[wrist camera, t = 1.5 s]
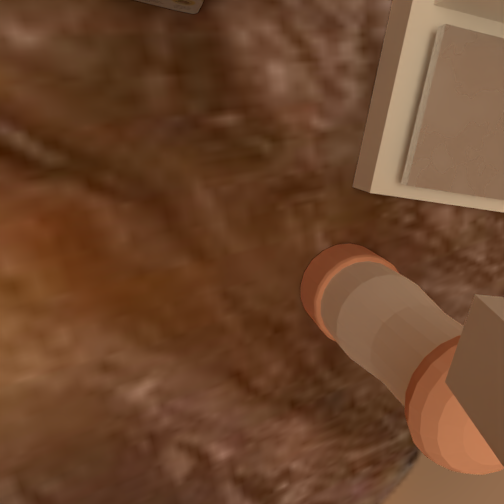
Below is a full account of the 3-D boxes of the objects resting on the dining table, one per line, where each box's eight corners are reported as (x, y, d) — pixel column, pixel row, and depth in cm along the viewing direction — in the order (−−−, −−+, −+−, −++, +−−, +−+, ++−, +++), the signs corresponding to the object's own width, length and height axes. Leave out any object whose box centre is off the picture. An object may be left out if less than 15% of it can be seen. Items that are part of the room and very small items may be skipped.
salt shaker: (398, 260, 38) (623, 389, 20) (360, 337, 39) (538, 524, 21) (323, 229, 36) (497, 341, 18) (285, 312, 37) (411, 495, 19)
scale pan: (522, 202, 34) (530, 204, 33) (400, 183, 31) (406, 185, 31) (566, 58, 31) (576, 56, 31) (438, 26, 29) (446, 23, 28)
